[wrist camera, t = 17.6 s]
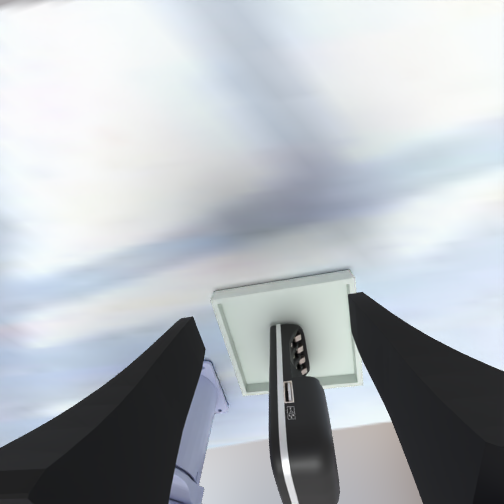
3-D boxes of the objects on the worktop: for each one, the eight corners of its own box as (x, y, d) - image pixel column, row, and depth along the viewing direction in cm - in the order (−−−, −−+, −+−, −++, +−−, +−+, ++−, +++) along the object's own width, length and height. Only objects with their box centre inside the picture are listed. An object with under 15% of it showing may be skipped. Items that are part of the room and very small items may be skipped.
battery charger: (317, 370, 25) (349, 526, 15) (280, 373, 26) (287, 526, 15) (308, 316, 23) (340, 459, 12) (268, 321, 23) (266, 462, 13)
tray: (244, 383, 28) (243, 396, 26) (213, 291, 23) (210, 300, 22) (358, 372, 26) (363, 385, 24) (349, 269, 21) (355, 277, 20)
